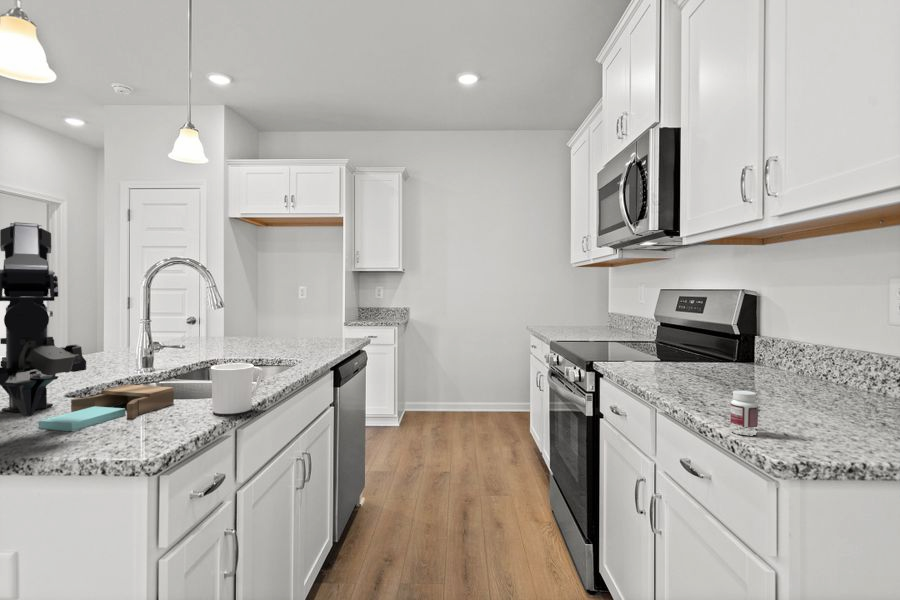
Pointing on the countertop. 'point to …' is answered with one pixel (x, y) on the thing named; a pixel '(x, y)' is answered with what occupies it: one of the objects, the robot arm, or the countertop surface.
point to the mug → (233, 388)
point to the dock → (129, 399)
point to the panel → (81, 418)
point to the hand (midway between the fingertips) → (27, 416)
